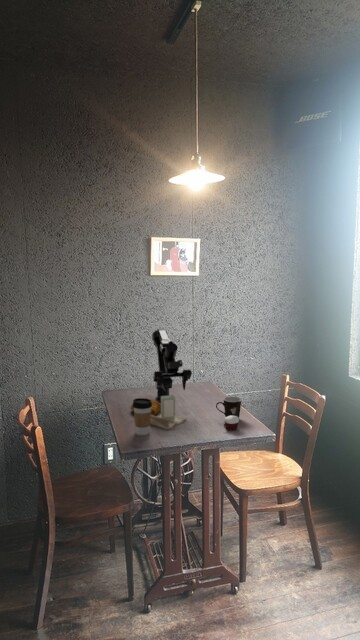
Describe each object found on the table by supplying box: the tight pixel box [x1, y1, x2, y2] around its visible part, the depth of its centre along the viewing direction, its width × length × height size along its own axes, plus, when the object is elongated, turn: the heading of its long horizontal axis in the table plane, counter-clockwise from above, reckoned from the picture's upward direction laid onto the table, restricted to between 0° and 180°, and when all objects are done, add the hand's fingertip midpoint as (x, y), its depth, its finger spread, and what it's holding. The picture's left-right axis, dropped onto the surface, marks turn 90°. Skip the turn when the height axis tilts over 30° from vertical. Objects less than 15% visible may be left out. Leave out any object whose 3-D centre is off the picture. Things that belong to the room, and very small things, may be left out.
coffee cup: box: [132, 397, 152, 436], centre depth 186 cm, size 8×8×15 cm
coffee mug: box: [215, 396, 242, 419], centre depth 203 cm, size 12×9×10 cm
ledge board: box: [150, 414, 187, 430], centre depth 200 cm, size 14×13×4 cm
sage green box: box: [160, 394, 176, 420], centre depth 200 cm, size 4×6×11 cm, turn 105°
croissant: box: [130, 397, 161, 416], centre depth 213 cm, size 14×16×8 cm
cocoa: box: [223, 400, 242, 431], centre depth 190 cm, size 10×6×12 cm, turn 103°
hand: (175, 390), depth 204 cm, fingers open, 9 cm apart
